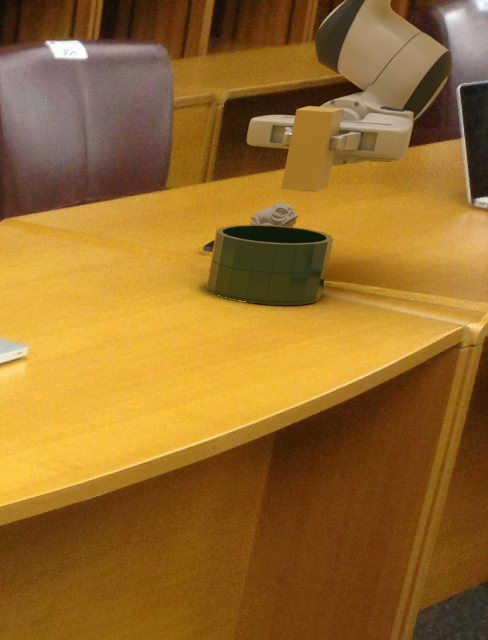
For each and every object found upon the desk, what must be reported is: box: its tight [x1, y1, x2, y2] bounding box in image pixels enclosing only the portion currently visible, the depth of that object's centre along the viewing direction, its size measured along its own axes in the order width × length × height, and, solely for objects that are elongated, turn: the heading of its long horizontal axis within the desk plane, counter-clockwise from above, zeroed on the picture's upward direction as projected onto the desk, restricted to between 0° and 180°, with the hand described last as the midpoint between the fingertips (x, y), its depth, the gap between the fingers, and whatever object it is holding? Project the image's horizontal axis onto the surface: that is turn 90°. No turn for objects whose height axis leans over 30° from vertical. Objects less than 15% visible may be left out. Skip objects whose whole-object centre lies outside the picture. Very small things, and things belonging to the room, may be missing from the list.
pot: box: [206, 224, 334, 306], centre depth 209 cm, size 15×15×8 cm
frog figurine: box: [249, 202, 299, 227], centre depth 238 cm, size 6×7×7 cm
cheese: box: [280, 105, 343, 193], centre depth 202 cm, size 4×5×10 cm
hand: (311, 141), depth 201 cm, fingers closed on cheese, 4 cm apart
